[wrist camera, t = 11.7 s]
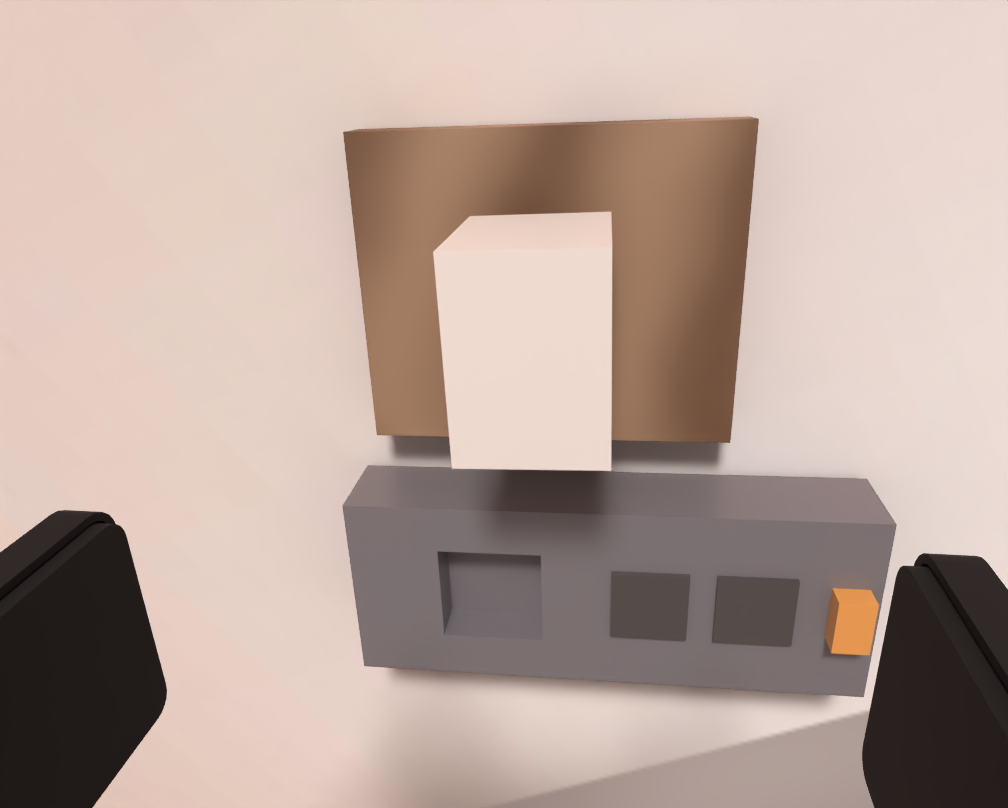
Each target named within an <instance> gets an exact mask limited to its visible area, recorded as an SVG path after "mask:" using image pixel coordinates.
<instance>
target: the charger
mask: <svg viewBox="0 0 1008 808" xmlns="http://www.w3.org/2000/svg"><path fill="white" fill-rule="evenodd" d="M433 256H434V267H435V279H436V291H437V302H438V314H439V325H440V337H441V348H442V360H443V372H444V383H445V395H446V406H447V418H448V429H449V441H450V453H451V464H452V469H515V470H587V471H611V423H612V218H611V212H583V213H551V214H520V215H489V216H470V217H469V218H467V219H466V220H465V221H464V222H463V223H462V224H461V225H460V226H459V227H458V228H457V229H456V230H455V231H454V232H453V233H452V234H451V235H450V236H449V237H448V238H447V239H446V240H445V241H444V242H443V243H442V244H441V245H440V246H439V247H438V248H437V249H436V250H435V251H434V252H433Z"/></svg>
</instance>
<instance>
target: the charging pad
mask: <svg viewBox="0 0 1008 808" xmlns="http://www.w3.org/2000/svg"><path fill="white" fill-rule="evenodd" d="M758 121H759V119H757V118H753V117H725V118H695V119H664V120H633V121H602V122H572V123H541V124H510V125H479V126H448V127H418V128H387V129H358V130H353V131H347V132H343V134H344V143H345V152H346V161H347V170H348V179H349V188H350V197H351V206H352V214H353V223H354V232H355V241H356V250H357V259H358V268H359V277H360V286H361V295H362V304H363V313H364V322H365V331H366V340H367V349H368V358H369V367H370V376H371V385H372V394H373V403H374V412H375V421H376V430H377V435H394V436H441V437H449V429H448V418H447V406H446V395H445V383H444V372H443V360H442V348H441V337H440V325H439V314H438V302H437V291H436V279H435V267H434V256H433V252H434V251H435V250H436V249H437V248H438V247H439V246H440V245H441V244H442V243H443V242H444V241H445V240H446V239H447V238H448V237H449V236H450V235H451V234H452V233H453V232H454V231H455V230H456V229H457V228H458V227H459V226H460V225H461V224H462V223H463V222H464V221H465V220H466V219H467V218H469V217H470V216H489V215H520V214H551V213H583V212H611V218H612V423H611V440H628V441H674V442H721V443H730V439H731V427H732V416H733V405H734V393H735V382H736V371H737V359H738V348H739V337H740V325H741V314H742V303H743V291H744V280H745V269H746V257H747V246H748V235H749V223H750V212H751V201H752V189H753V178H754V167H755V155H756V144H757V133H758Z"/></svg>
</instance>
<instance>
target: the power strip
mask: <svg viewBox="0 0 1008 808" xmlns="http://www.w3.org/2000/svg"><path fill="white" fill-rule="evenodd" d="M343 512H344V520H345V527H346V534H347V542H348V549H349V556H350V564H351V571H352V578H353V586H354V593H355V600H356V608H357V615H358V622H359V630H360V637H361V644H362V652H363V659H364V666H372V667H388V668H404V669H420V670H436V671H452V672H468V673H484V674H500V675H516V676H532V677H548V678H564V679H581V680H597V681H613V682H629V683H645V684H661V685H677V686H693V687H709V688H725V689H741V690H757V691H773V692H790V693H806V694H822V695H838V696H854V697H864V692H865V687H866V682H867V677H868V671H869V666H870V661H871V656H872V650H873V645H874V640H875V635H876V630H877V624H878V619H879V614H880V609H881V603H882V598H883V593H884V588H885V583H886V577H887V572H888V567H889V562H890V556H891V551H892V546H893V541H894V536H895V530H896V525H897V524H896V523H895V521H894V520H893V518H892V517H891V515H890V514H889V512H888V511H887V509H886V508H885V506H884V505H883V503H882V502H881V500H880V498H879V497H878V495H877V494H876V492H875V491H874V489H873V488H872V486H871V485H870V483H869V482H868V480H867V479H855V478H818V477H780V476H743V475H706V474H669V473H631V472H594V471H557V470H515V469H452V468H445V467H407V466H370V465H368V466H367V468H366V469H365V471H364V472H363V474H362V476H361V477H360V479H359V480H358V482H357V484H356V485H355V487H354V488H353V490H352V492H351V493H350V495H349V496H348V498H347V500H346V501H345V503H344V504H343Z"/></svg>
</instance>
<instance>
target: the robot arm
mask: <svg viewBox="0 0 1008 808" xmlns="http://www.w3.org/2000/svg"><path fill="white" fill-rule="evenodd" d="M166 695H167V688H166V683H165V679H164V675H163V671H162V668H161V664H160V660H159V656H158V653H157V649H156V645H155V641H154V638H153V634H152V630H151V627H150V623H149V619H148V615H147V612H146V608H145V604H144V600H143V597H142V593H141V589H140V585H139V582H138V578H137V574H136V570H135V567H134V563H133V559H132V555H131V552H130V548H129V544H128V541H127V537H126V534H125V532H124V530H123V529H122V527H121V526H119V525H116V524H115V522H114V520H113V519H112V518H111V516H110V515H108V514H106V513H103V512H89V511H70V510H63V511H57V512H55V513H53V514H51V515H50V516H48V517H47V518H46V519H44V520H43V521H42V522H40V523H39V524H38V525H36V526H35V527H34V528H32V529H31V530H30V531H28V532H27V533H26V534H24V535H23V536H22V537H20V538H19V539H18V540H16V541H15V542H14V543H12V544H11V545H10V546H8V547H7V548H6V549H4V550H3V551H2V552H0V808H92V807H93V806H94V805H95V803H96V802H97V801H98V799H99V798H100V797H101V795H102V794H103V792H104V791H105V790H106V788H107V787H108V786H109V784H110V783H111V782H112V780H113V779H114V778H115V776H116V775H117V773H118V772H119V771H120V769H121V768H122V767H123V765H124V764H125V763H126V761H127V760H128V759H129V757H130V756H131V754H132V753H133V752H134V750H135V749H136V748H137V746H138V745H139V744H140V742H141V741H142V740H143V738H144V737H145V735H146V734H147V733H148V731H149V730H150V729H151V727H152V726H153V725H154V723H155V722H156V721H157V719H158V718H159V716H160V714H161V713H162V710H163V708H164V705H165V701H166ZM862 761H863V770H864V776H865V780H866V784H867V787H868V790H869V793H870V796H871V799H872V802H873V805H874V808H1008V589H1007V588H1006V587H1005V585H1004V584H1003V583H1002V581H1001V580H1000V579H999V577H998V576H997V575H996V573H995V572H994V571H993V570H992V568H991V567H990V566H989V564H988V563H987V562H986V561H985V560H984V559H983V558H981V557H978V556H965V555H945V554H925V553H923V554H921V555H920V556H919V557H918V558H917V560H916V561H915V564H914V566H902V567H900V569H899V571H898V573H897V576H896V581H895V586H894V591H893V596H892V601H891V606H890V611H889V616H888V621H887V626H886V631H885V637H884V642H883V647H882V652H881V657H880V662H879V667H878V672H877V677H876V682H875V687H874V692H873V698H872V703H871V708H870V713H869V718H868V723H867V728H866V733H865V738H864V743H863V751H862Z"/></svg>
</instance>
